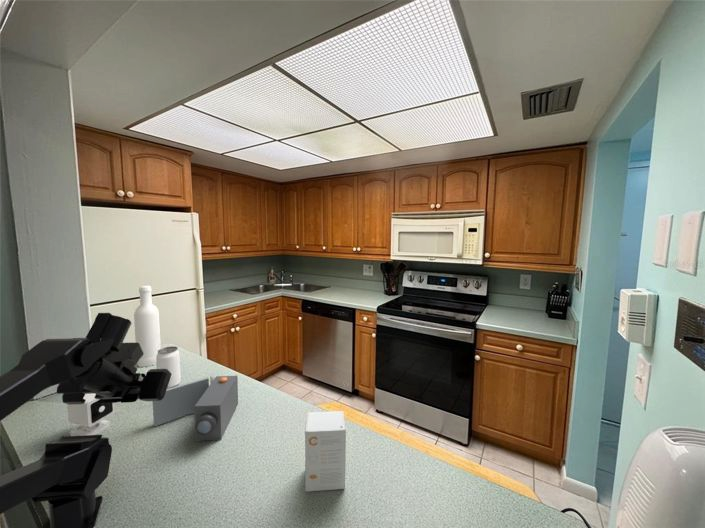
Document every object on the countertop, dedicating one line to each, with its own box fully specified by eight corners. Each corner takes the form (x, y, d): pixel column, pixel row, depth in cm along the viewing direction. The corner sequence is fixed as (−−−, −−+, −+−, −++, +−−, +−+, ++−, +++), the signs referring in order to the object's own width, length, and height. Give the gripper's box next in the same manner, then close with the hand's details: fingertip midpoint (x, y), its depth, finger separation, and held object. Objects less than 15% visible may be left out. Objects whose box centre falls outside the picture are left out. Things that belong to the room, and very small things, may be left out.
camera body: (218, 446, 68) (216, 407, 67) (184, 448, 67) (182, 409, 66) (238, 403, 85) (237, 372, 84) (212, 404, 84) (211, 372, 83)
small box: (343, 464, 63) (344, 410, 62) (345, 490, 57) (346, 429, 56) (306, 466, 63) (306, 411, 61) (304, 492, 56) (304, 431, 55)
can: (159, 381, 96) (158, 347, 95) (181, 377, 99) (180, 344, 98) (155, 391, 90) (153, 355, 89) (179, 386, 93) (177, 352, 92)
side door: (207, 403, 84) (206, 376, 83) (209, 406, 82) (208, 378, 82) (153, 423, 75) (151, 392, 74) (154, 426, 74) (152, 395, 73)
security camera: (90, 442, 68) (86, 403, 67) (67, 437, 70) (63, 399, 68) (116, 425, 74) (114, 389, 73) (95, 421, 76) (92, 385, 75)
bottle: (159, 356, 115) (155, 283, 112) (164, 362, 110) (160, 286, 107) (134, 362, 109) (129, 286, 106) (138, 369, 104) (133, 289, 101)
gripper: (165, 335, 61) (190, 361, 73) (69, 336, 59) (111, 363, 71) (144, 389, 54) (176, 408, 66) (35, 393, 52) (88, 412, 64)
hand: (138, 396), depth 67 cm, fingers closed
